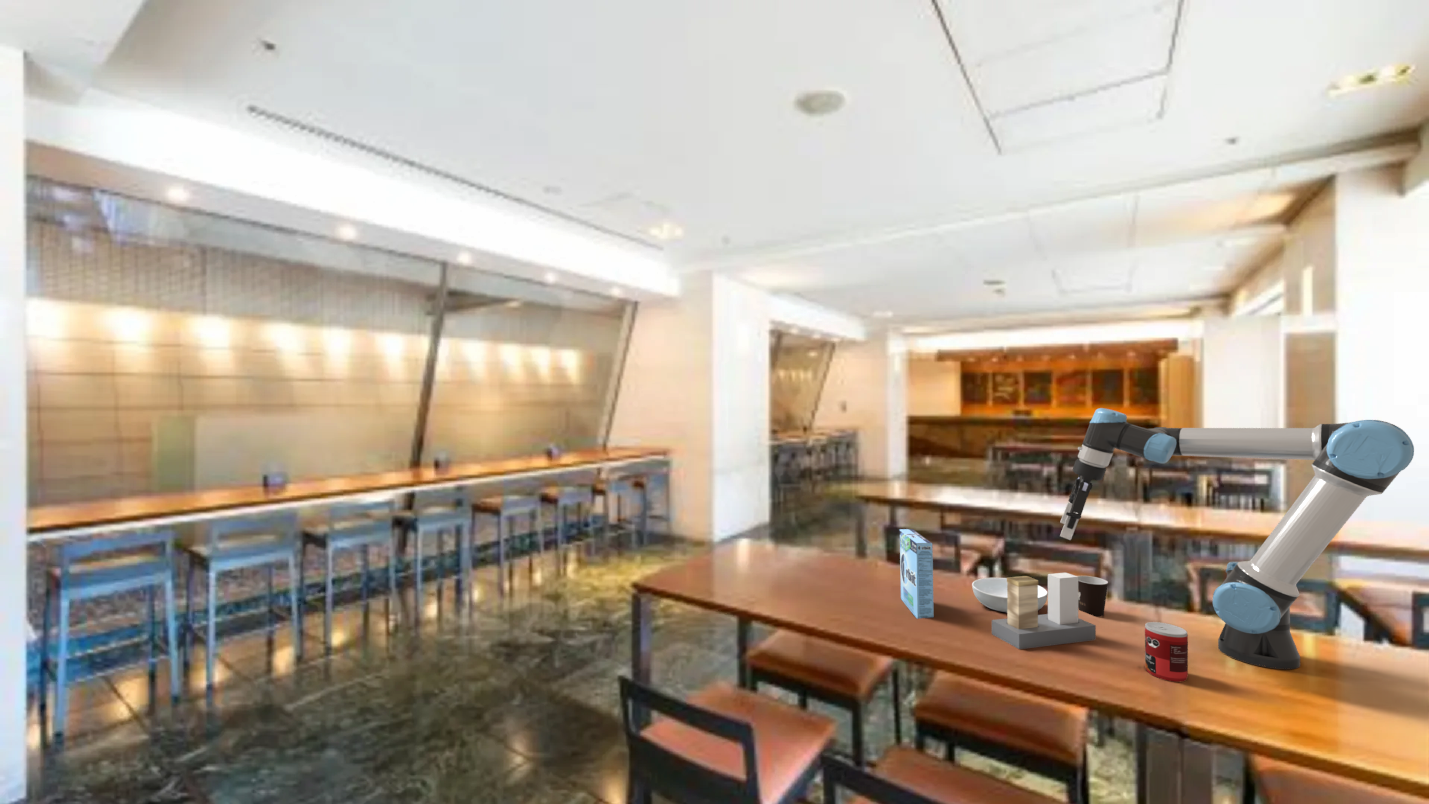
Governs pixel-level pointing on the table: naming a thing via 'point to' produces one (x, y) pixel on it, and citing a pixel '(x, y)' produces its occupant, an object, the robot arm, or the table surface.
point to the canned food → (1166, 651)
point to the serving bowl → (999, 593)
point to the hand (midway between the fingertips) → (1065, 530)
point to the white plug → (1063, 598)
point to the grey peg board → (1044, 633)
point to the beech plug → (1022, 602)
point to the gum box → (916, 573)
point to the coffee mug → (1092, 595)
